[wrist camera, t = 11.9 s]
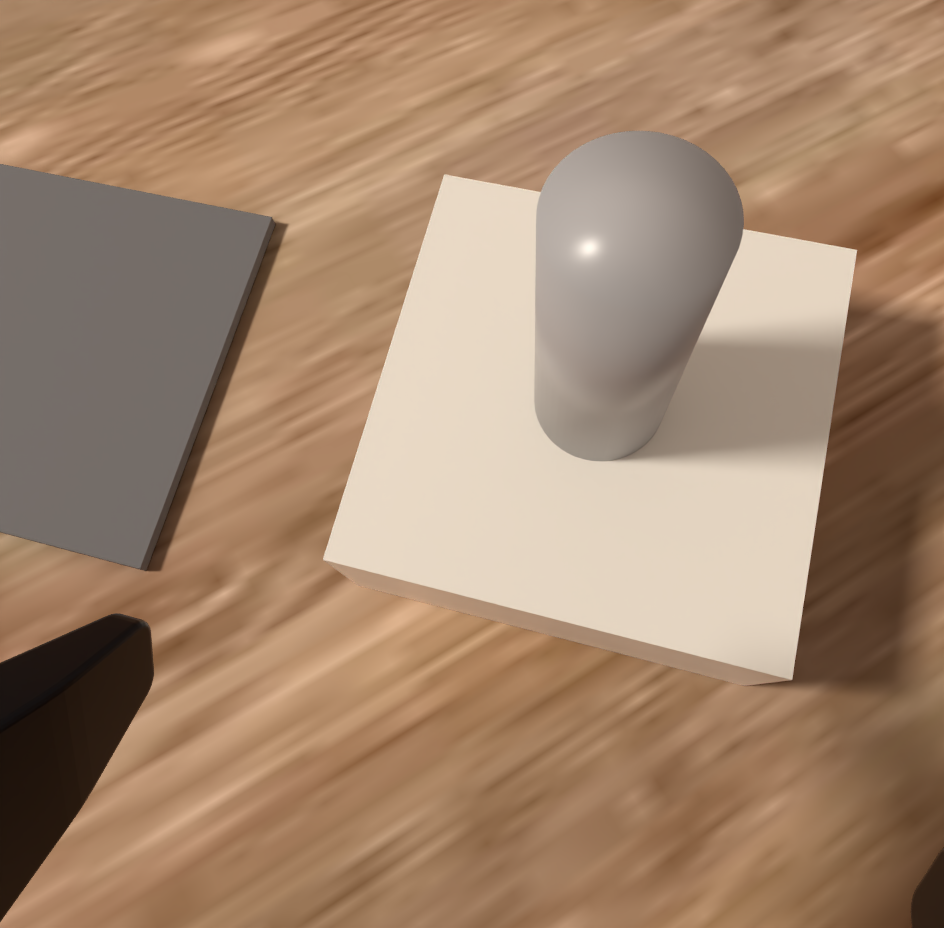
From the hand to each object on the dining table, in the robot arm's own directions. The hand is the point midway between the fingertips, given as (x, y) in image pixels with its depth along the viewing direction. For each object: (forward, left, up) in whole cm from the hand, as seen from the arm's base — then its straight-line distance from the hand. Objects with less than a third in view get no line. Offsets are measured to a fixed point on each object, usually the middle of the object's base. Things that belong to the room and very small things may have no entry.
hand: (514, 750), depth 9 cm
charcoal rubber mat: (+19, +4, -14) cm, 24 cm away
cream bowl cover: (+5, -6, -14) cm, 16 cm away
